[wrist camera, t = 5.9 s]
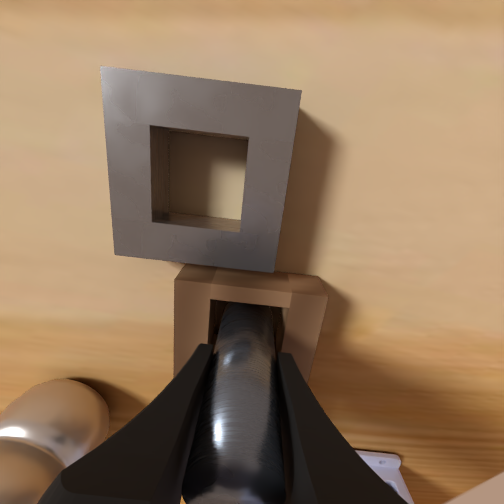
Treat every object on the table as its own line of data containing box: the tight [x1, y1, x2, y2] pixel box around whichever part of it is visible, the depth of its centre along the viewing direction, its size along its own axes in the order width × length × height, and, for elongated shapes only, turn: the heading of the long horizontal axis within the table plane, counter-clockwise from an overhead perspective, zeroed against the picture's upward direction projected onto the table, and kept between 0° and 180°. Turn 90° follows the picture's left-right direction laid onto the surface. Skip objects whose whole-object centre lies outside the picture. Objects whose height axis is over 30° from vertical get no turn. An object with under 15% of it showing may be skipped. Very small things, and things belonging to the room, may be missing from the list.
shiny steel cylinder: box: [181, 301, 286, 504], centre depth 12 cm, size 3×3×9 cm
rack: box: [174, 263, 328, 384], centre depth 15 cm, size 8×12×6 cm, turn 174°
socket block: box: [100, 66, 302, 273], centre depth 13 cm, size 8×8×2 cm
